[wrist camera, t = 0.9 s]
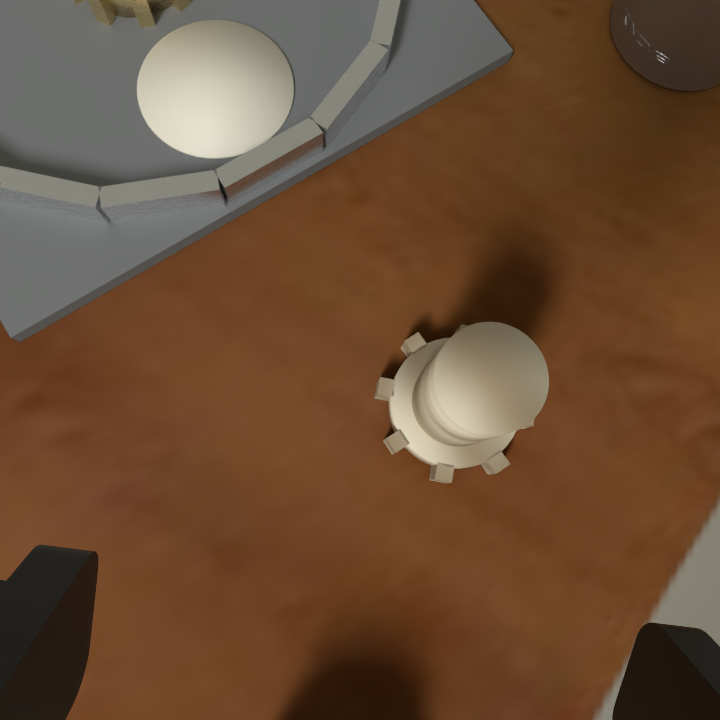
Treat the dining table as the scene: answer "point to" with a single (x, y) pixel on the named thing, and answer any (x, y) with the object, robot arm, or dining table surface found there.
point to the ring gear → (232, 176)
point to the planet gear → (464, 397)
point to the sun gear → (132, 9)
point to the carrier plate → (189, 116)
